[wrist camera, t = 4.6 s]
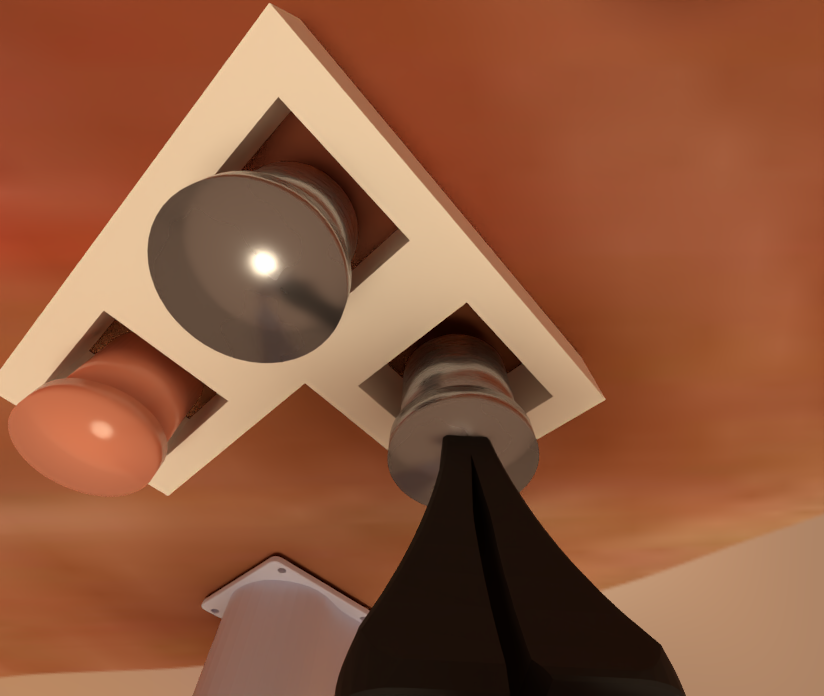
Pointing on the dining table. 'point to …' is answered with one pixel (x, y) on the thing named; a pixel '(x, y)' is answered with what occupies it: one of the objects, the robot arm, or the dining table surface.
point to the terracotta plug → (106, 419)
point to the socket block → (371, 280)
